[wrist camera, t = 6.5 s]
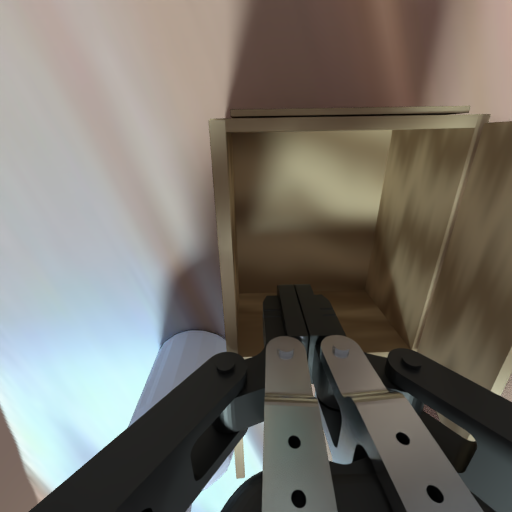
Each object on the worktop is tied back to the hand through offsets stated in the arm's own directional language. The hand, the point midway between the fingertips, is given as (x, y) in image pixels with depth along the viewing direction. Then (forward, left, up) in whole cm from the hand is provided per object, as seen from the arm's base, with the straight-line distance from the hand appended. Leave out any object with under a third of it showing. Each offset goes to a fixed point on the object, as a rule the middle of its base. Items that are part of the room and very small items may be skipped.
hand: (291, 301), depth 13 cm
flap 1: (-2, +3, -4) cm, 5 cm away
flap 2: (+6, -8, -4) cm, 11 cm away
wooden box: (+2, -3, -13) cm, 14 cm away
